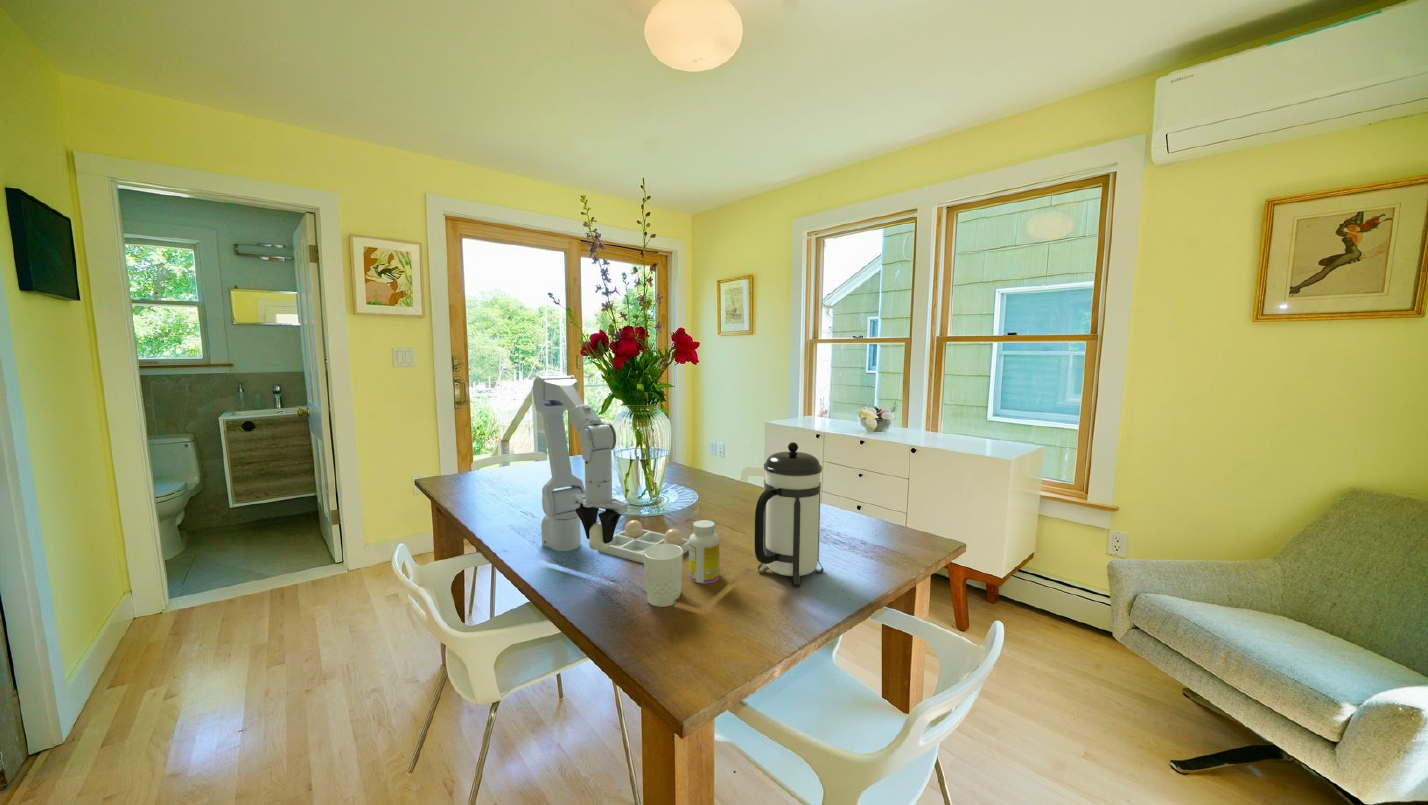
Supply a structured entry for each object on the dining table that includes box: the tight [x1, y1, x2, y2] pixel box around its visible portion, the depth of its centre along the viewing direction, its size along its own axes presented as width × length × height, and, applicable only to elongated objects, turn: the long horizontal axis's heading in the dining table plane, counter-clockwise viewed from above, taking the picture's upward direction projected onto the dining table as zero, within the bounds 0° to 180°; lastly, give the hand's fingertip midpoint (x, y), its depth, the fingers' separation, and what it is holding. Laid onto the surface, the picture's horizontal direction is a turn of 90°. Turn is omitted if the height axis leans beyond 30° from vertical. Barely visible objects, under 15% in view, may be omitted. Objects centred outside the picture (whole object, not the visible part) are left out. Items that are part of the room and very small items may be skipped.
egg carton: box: [597, 528, 689, 564], centre depth 120 cm, size 19×13×3 cm
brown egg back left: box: [624, 519, 643, 539], centre depth 126 cm, size 4×4×5 cm
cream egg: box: [588, 521, 610, 551], centre depth 107 cm, size 4×4×5 cm
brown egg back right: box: [664, 528, 683, 547], centre depth 119 cm, size 4×4×5 cm
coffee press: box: [754, 441, 824, 588], centre depth 108 cm, size 17×16×30 cm
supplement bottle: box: [688, 519, 720, 584], centre depth 105 cm, size 7×7×13 cm
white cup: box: [643, 544, 684, 608], centre depth 97 cm, size 8×8×10 cm
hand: (599, 539), depth 107 cm, fingers closed on cream egg, 4 cm apart
